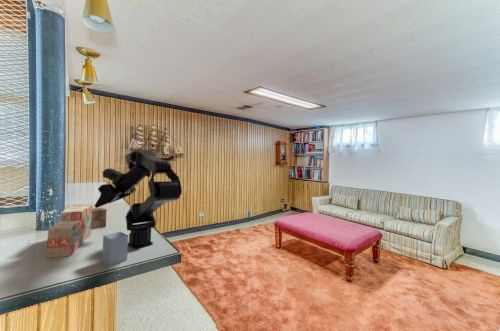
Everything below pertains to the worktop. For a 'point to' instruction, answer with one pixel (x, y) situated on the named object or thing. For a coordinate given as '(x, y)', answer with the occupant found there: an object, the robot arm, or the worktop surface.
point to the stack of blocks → (69, 231)
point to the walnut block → (98, 218)
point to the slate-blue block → (115, 248)
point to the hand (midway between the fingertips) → (102, 204)
